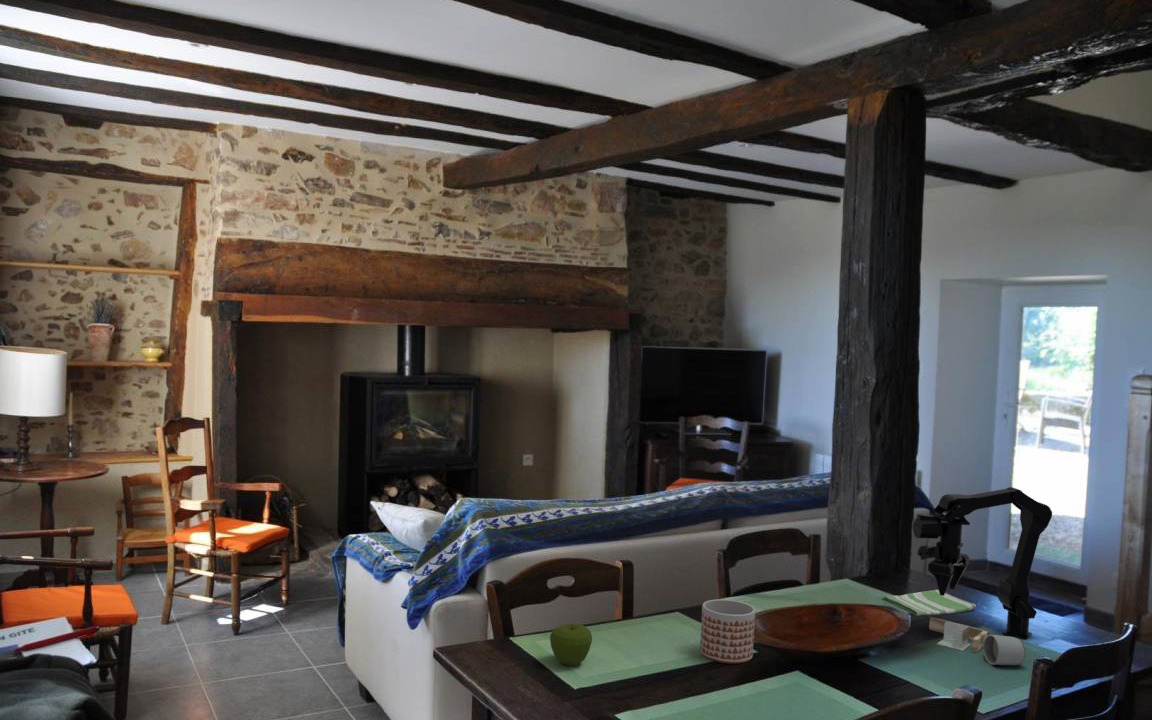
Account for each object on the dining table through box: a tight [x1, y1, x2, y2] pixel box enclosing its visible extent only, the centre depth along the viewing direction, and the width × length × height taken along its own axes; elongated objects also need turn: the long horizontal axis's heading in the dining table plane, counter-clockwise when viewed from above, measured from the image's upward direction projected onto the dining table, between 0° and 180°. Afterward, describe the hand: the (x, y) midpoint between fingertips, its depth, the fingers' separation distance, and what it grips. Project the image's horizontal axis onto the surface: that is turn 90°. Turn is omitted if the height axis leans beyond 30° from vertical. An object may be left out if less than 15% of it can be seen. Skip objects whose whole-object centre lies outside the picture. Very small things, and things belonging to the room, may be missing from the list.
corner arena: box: [928, 616, 990, 654], centre depth 259 cm, size 11×16×4 cm
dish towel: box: [882, 589, 977, 617], centre depth 292 cm, size 18×23×3 cm
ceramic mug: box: [982, 634, 1026, 666], centre depth 243 cm, size 11×8×8 cm
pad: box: [936, 639, 972, 652], centre depth 255 cm, size 7×7×1 cm
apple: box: [549, 623, 593, 667], centre depth 227 cm, size 11×10×10 cm
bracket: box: [942, 620, 970, 649], centre depth 255 cm, size 6×6×5 cm
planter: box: [699, 598, 756, 665], centre depth 238 cm, size 14×14×13 cm
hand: (947, 592), depth 265 cm, fingers open, 9 cm apart
